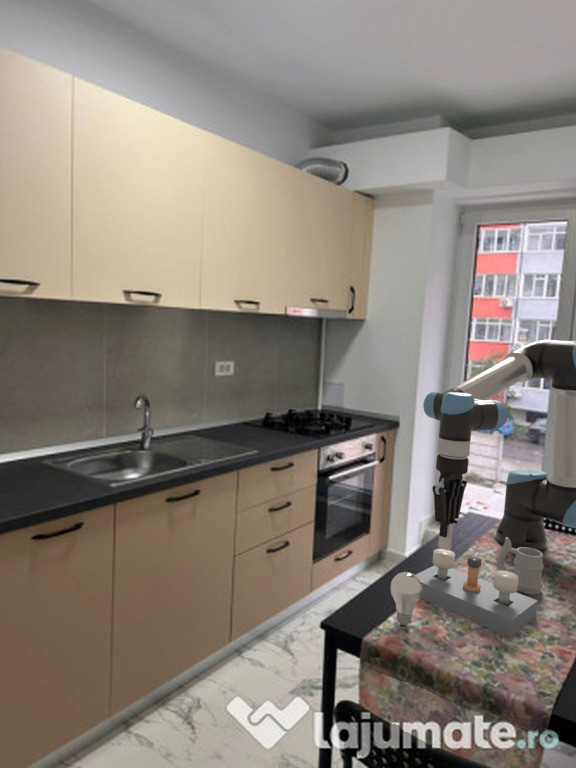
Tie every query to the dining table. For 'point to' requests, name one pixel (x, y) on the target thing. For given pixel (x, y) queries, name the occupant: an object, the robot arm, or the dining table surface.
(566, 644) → the dining table surface
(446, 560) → the knob
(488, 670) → the dining table surface
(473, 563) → the ball
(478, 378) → the robot arm
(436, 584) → the panel
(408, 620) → the light bulb
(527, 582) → the mug
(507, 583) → the knob
